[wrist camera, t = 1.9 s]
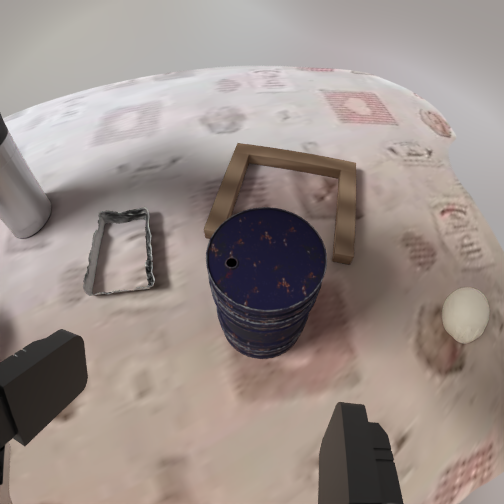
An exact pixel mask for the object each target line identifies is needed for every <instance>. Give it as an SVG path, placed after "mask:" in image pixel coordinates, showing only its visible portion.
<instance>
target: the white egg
mask: <svg viewBox="0 0 504 504" xmlns="http://www.w3.org/2000/svg"><path fill="white" fill-rule="evenodd" d="M489 313H490V310H489V304H488V301H487V299H486V297H485V296H484V294H483V293H482V292H481V291H479V290H477V289H475V288H471V287H464V288H460V289H457V290H455V291H454V292H452V293H451V294H450V295H449V296H448V297H447V299H446V300H445V302H444V305H443V309H442V322H443V325H444V328H445V330H446V331H447V332H448V333H449V334H450V335H451V336H452V337H453V338H454V339H455V340H456V341H457V342H459V343H464V344H465V343H469V342H471V341H473V340H475V339H477V338H478V337H480V336H481V335H482V333H483V332H484V329H485V327H486V325H487V323H488V320H489Z"/></svg>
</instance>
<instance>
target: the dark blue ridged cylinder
mask: <svg viewBox="0 0 504 504" xmlns="http://www.w3.org/2000/svg"><path fill="white" fill-rule="evenodd" d="M206 264H207V270H208V274H209V283H210V287H211V291H212V296H213V299H214V302H215V304H216V305H217V315H218V319H219V321H220V324H221V327H222V330H223V331H224V334H225V336H226V338H227V340H228V342H229V343H230V344H231V345H232V346H233V347H234V348H235V349H236V350H237V351H239V352H240V353H242V354H244V355H246V356H248V357H252V358H258V359H268V358H273V357H276V356H279V355H281V354H283V353H284V352H286V351H287V350H289V349H290V348H291V347H292V346H293V345H294V344H295V342H296V341H297V339H298V337H299V336H300V334H301V332H302V331H303V328H304V326H305V324H306V321H307V319H308V314H309V312H310V310H311V309H312V307H313V305H314V303H315V301H316V298H317V295H318V293H319V290H320V288H321V283H322V280H323V277H324V275H325V271H326V266H327V255H326V249H325V246H324V243H323V241H322V239H321V237H320V235H319V234H318V232H317V231H316V230H315V229H314V227H313V226H311V225H310V224H309V223H308V222H307V221H306V220H304V219H303V218H301V217H300V216H298V215H296V214H294V213H292V212H289V211H286V210H282V209H278V208H269V207H263V208H253V209H248V210H245V211H242V212H239V213H237V214H235V215H233V216H231V217H230V218H228V219H227V220H226V221H224V222H223V223H222V224H221V225H220V226H219V227H218V228H217V229H216V230H215V232H214V234H213V235H212V237H211V239H210V241H209V244H208V247H207V252H206Z"/></svg>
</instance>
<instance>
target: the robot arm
mask: <svg viewBox="0 0 504 504" xmlns="http://www.w3.org/2000/svg"><path fill="white" fill-rule="evenodd" d="M50 213H51V202H50V201H49V199H48V198H47V196H46V194H45V193H44V191H43V190H42V188H41V186H40V185H39V183H38V181H37V180H36V178H35V177H34V175H33V173H32V172H31V170H30V168H29V166H28V165H27V163H26V161H25V160H24V158H23V156H22V154H21V153H20V151H19V149H18V147H17V145H16V144H15V142H14V140H13V138H12V136H11V135H10V133H9V131H8V129H7V127H6V125H5V123H4V121H3V119H2V116H1V114H0V219H1V220H2V221H3V222H4V224H5V225H6V226H7V227H8V228H9V230H10V231H11V232H12V233H13V234H14V235H15V236H16V237H17V238H27V237H29V236H31V235H33V234H35V233H36V232H38V231H39V230H40V229H41V228H42V227H43V225H44V224H45V223H46V221H47V220H48V218H49V216H50ZM87 378H88V374H87V366H86V358H85V348H84V341H83V339H82V337H81V336H78V335H76V334H73V333H71V332H68V331H66V330H63V329H60V330H58V331H56V332H55V333H53V334H52V335H50V336H49V337H47V338H44V339H41V340H38V341H34V342H32V343H31V344H29V345H27V346H26V347H24V348H23V350H19V351H18V352H16V353H15V354H14V356H13V355H12V356H10V357H8V358H7V359H5V360H4V361H2V362H1V363H0V504H12V501H11V498H10V494H9V469H10V444H9V441H10V440H11V439H12V438H14V439H15V440H16V441H18V442H19V443H21V444H22V445H24V446H26V445H27V444H28V443H29V442H30V441H31V440H32V439H33V438H34V437H35V436H36V435H37V434H38V433H39V432H40V431H42V430H43V429H44V428H45V427H46V426H47V425H48V424H49V423H50V422H51V421H52V420H53V419H54V418H55V417H56V416H57V415H58V414H59V413H60V412H61V411H62V410H63V409H64V408H66V407H67V406H68V405H69V404H70V403H71V402H72V401H73V400H74V399H75V398H76V397H77V396H78V395H79V394H80V393H81V392H82V391H83V390H84V388H85V386H86V383H87ZM393 460H394V458H393V454H392V451H391V446H390V442H389V438H388V435H387V434H386V432H385V431H384V430H383V428H382V427H381V426H380V425H379V423H372V422H368V418H367V413H366V409H365V406H364V405H362V404H353V403H344V402H338V403H337V405H336V407H335V409H334V412H333V415H332V417H331V420H330V422H329V425H328V427H327V430H326V432H325V435H324V437H323V440H322V444H321V448H320V454H319V491H318V504H403V499H402V495H401V490H400V485H399V480H398V476H397V471H396V467H395V463H394V462H393Z"/></svg>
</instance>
